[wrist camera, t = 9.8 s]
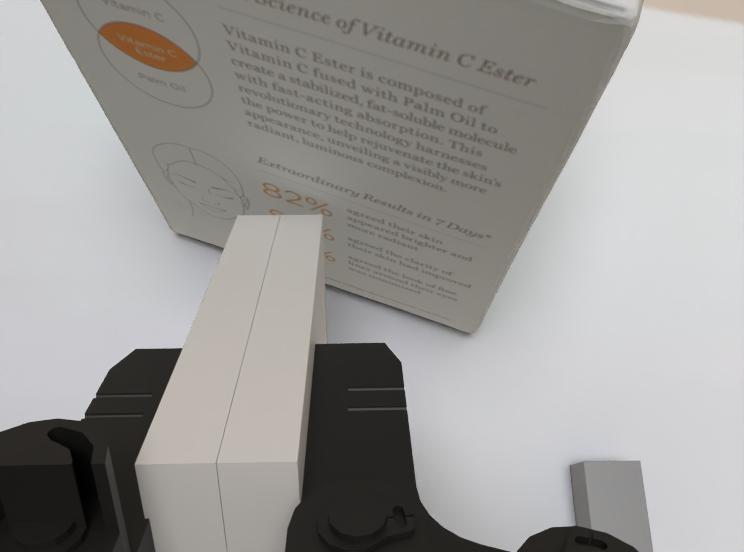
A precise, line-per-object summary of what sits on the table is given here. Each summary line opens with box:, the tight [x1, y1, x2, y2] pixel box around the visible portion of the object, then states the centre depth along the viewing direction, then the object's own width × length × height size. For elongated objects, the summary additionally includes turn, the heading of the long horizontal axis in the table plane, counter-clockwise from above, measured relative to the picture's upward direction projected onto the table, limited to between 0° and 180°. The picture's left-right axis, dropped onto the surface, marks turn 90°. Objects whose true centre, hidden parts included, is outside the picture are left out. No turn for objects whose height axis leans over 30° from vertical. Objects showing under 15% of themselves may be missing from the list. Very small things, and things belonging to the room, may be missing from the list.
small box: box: [40, 0, 644, 333], centre depth 13 cm, size 8×6×10 cm
